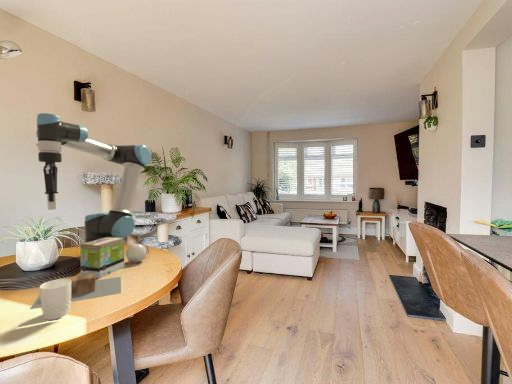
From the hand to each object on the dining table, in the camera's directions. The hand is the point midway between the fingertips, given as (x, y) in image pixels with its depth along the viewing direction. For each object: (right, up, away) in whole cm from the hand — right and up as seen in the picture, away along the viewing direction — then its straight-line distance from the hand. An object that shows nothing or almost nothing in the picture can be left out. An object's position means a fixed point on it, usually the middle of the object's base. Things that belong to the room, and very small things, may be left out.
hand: (52, 209), depth 111 cm
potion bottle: (+24, -28, +27) cm, 46 cm away
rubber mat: (+20, -30, -12) cm, 38 cm away
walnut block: (+24, -27, -10) cm, 37 cm away
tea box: (+17, -29, +8) cm, 35 cm away
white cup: (+23, -31, -28) cm, 48 cm away
